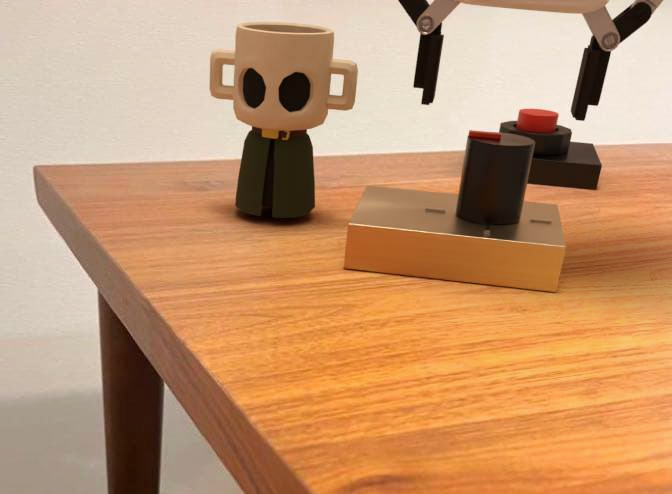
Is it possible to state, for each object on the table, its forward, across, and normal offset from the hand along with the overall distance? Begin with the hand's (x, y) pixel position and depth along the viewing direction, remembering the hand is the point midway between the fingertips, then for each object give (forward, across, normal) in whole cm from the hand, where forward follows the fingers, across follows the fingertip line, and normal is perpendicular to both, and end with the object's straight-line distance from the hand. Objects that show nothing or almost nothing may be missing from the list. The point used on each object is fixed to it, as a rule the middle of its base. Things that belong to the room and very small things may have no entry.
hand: (501, 109), depth 63 cm
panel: (+10, -2, 0) cm, 10 cm away
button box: (+10, +4, +30) cm, 32 cm away
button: (+6, +4, +30) cm, 31 cm away
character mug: (+10, -16, +6) cm, 20 cm away
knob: (+7, 0, 0) cm, 7 cm away
